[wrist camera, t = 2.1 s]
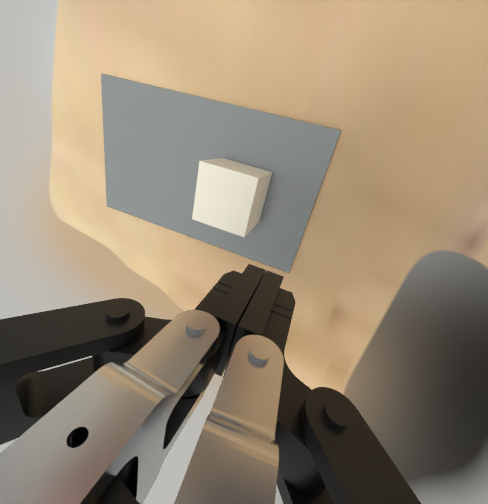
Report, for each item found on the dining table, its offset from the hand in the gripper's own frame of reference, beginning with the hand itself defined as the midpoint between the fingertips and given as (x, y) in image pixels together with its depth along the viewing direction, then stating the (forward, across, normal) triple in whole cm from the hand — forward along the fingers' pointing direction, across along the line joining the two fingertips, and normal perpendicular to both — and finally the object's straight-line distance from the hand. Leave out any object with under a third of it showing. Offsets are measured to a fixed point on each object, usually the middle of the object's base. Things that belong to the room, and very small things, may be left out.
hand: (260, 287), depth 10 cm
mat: (+15, +11, 0) cm, 19 cm away
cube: (+15, +6, 0) cm, 16 cm away
